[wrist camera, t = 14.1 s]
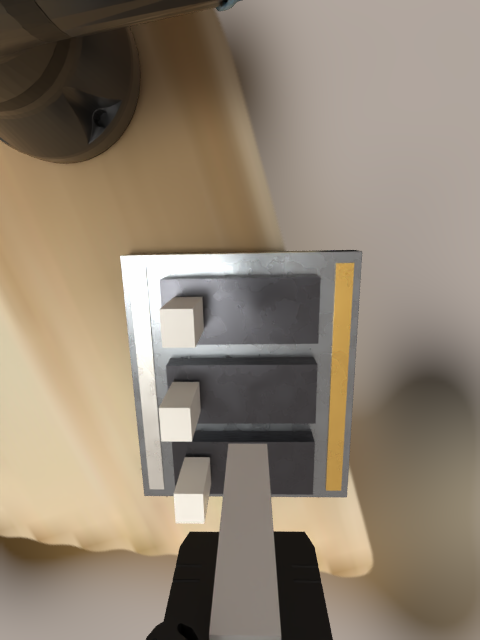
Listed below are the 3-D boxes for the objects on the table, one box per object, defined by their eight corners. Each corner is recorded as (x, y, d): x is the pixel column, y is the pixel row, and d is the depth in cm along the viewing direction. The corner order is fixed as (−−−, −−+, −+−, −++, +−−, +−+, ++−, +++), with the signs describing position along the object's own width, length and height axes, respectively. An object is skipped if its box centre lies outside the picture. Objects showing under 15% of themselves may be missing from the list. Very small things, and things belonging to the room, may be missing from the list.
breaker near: (173, 297, 31) (159, 309, 26) (202, 296, 31) (192, 308, 26) (176, 330, 31) (162, 347, 27) (203, 329, 31) (194, 347, 27)
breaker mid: (172, 381, 33) (158, 408, 28) (199, 381, 33) (189, 407, 28) (174, 411, 33) (161, 441, 29) (200, 411, 33) (192, 441, 28)
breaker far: (184, 457, 35) (173, 493, 30) (209, 457, 35) (203, 494, 30) (186, 483, 35) (175, 523, 30) (211, 483, 35) (204, 523, 30)
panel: (129, 254, 35) (111, 257, 30) (354, 250, 34) (369, 252, 30) (150, 480, 41) (138, 509, 37) (341, 481, 40) (351, 511, 36)
